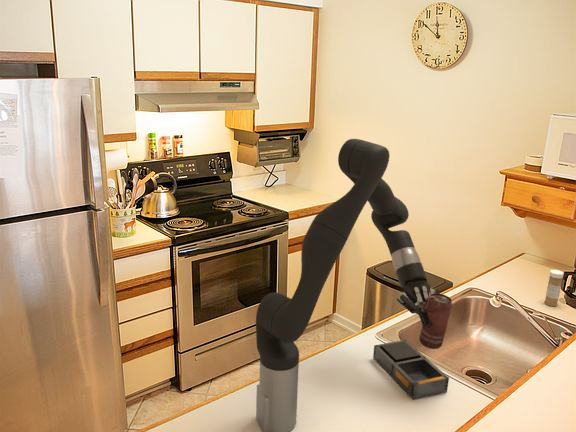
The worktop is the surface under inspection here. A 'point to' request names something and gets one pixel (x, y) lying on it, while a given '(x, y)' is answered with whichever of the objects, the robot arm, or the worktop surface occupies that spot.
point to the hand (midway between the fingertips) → (429, 326)
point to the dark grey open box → (410, 369)
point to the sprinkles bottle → (554, 287)
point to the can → (436, 320)
